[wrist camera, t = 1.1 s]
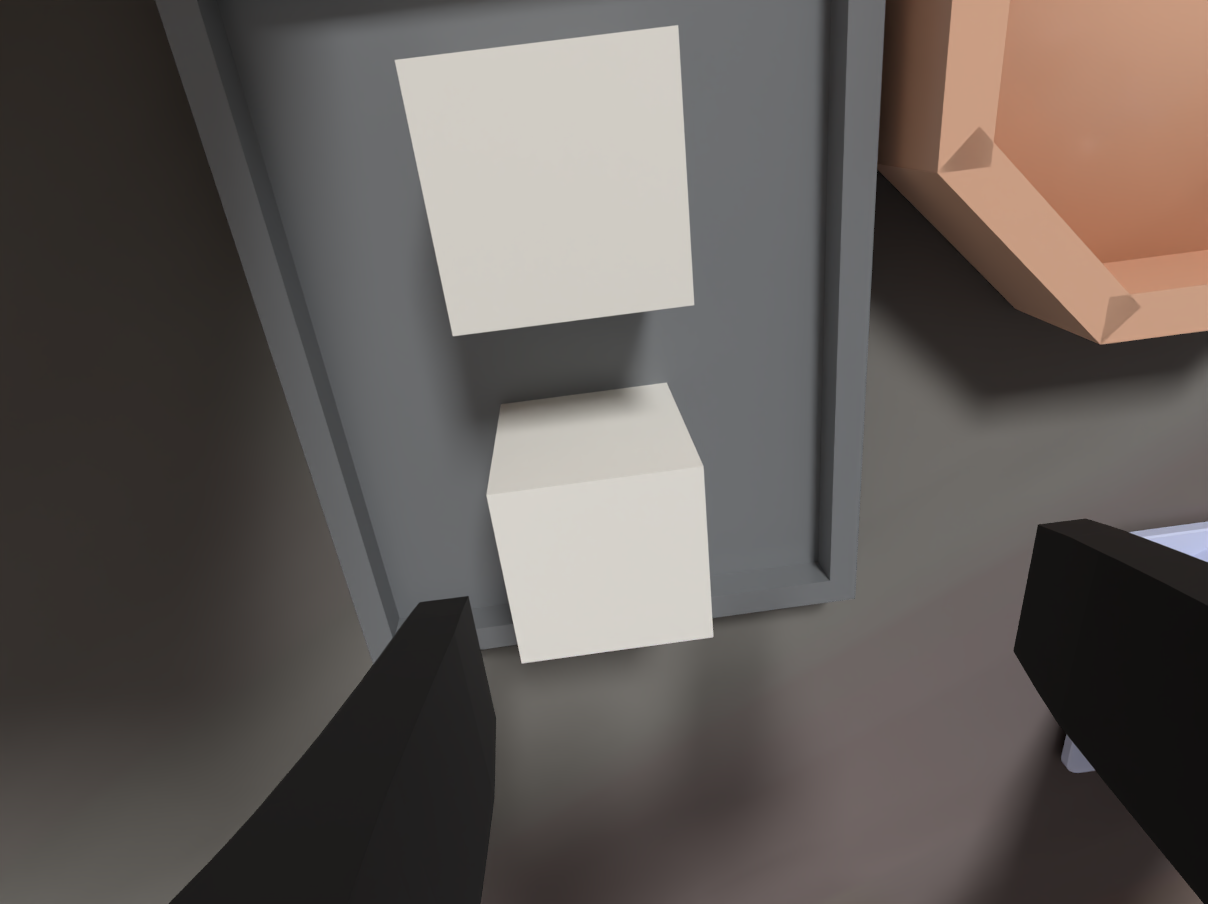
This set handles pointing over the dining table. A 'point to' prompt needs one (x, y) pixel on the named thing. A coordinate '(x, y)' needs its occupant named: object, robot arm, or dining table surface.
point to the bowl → (1059, 152)
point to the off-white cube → (554, 177)
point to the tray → (567, 349)
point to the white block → (600, 523)
